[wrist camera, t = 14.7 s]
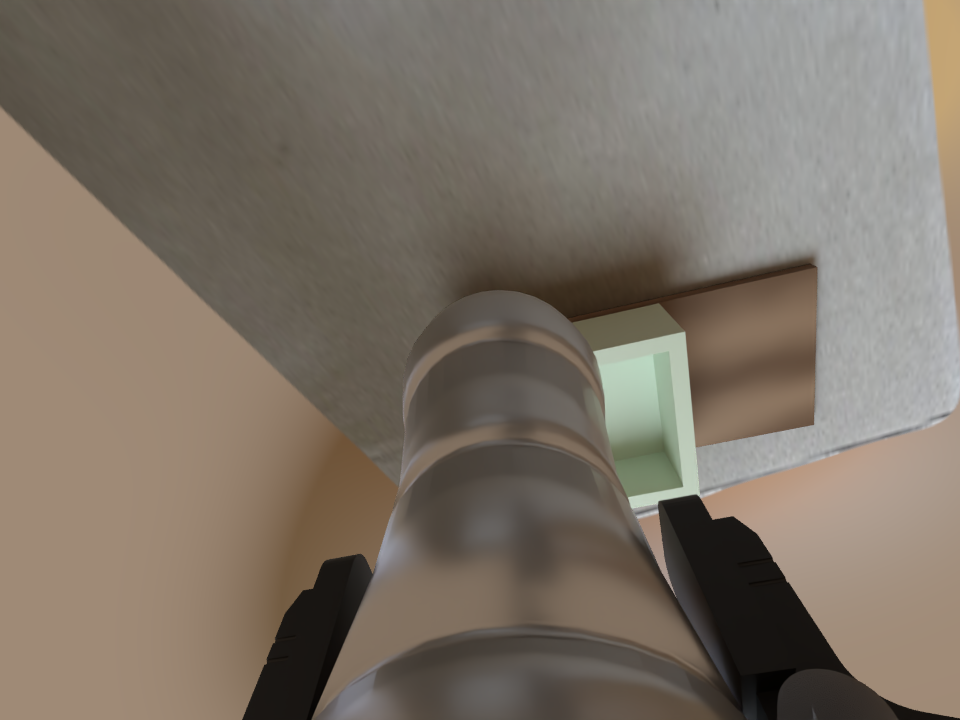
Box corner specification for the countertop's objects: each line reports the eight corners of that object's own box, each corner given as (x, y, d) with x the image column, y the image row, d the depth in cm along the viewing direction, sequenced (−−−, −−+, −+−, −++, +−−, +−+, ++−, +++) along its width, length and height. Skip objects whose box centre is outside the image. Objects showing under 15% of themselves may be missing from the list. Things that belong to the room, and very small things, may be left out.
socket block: (480, 343, 36) (479, 376, 31) (658, 303, 34) (685, 331, 30) (517, 482, 41) (521, 528, 36) (675, 452, 39) (700, 496, 35)
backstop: (452, 344, 37) (441, 418, 28) (810, 264, 34) (928, 317, 25) (492, 479, 42) (494, 581, 32) (807, 419, 39) (905, 510, 30)
